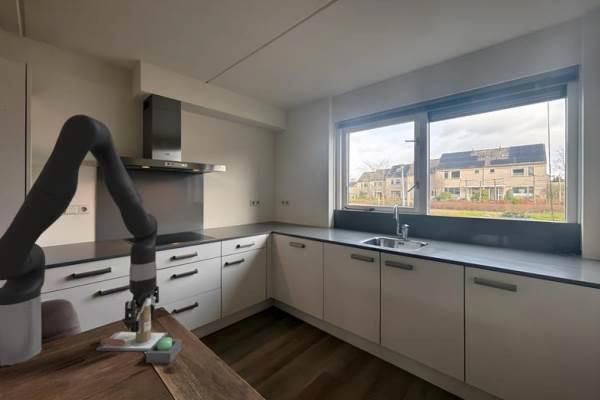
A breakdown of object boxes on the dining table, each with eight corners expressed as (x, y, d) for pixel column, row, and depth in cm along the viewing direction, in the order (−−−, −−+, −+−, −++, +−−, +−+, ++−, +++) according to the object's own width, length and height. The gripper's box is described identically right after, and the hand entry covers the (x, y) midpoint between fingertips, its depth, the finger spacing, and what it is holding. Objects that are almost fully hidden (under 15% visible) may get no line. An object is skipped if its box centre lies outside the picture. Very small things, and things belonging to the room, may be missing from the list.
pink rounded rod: (100, 344, 81) (101, 339, 81) (104, 341, 82) (105, 336, 82) (122, 346, 81) (122, 341, 80) (125, 343, 82) (126, 338, 82)
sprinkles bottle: (151, 340, 84) (151, 300, 83) (135, 345, 81) (134, 303, 81) (150, 334, 88) (150, 295, 87) (134, 338, 85) (134, 298, 85)
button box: (146, 362, 74) (146, 352, 74) (159, 348, 81) (159, 338, 81) (170, 363, 74) (170, 353, 74) (181, 348, 81) (181, 339, 81)
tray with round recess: (96, 350, 79) (96, 347, 79) (119, 332, 89) (119, 329, 89) (151, 352, 79) (151, 348, 79) (168, 334, 89) (168, 330, 89)
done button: (154, 354, 76) (154, 344, 76) (161, 346, 80) (161, 337, 80) (167, 355, 76) (167, 345, 76) (174, 346, 80) (174, 337, 80)
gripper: (145, 268, 91) (145, 314, 91) (115, 283, 77) (116, 336, 77) (166, 269, 91) (166, 314, 91) (141, 283, 76) (141, 337, 77)
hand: (143, 324), depth 84 cm, fingers open, 8 cm apart
